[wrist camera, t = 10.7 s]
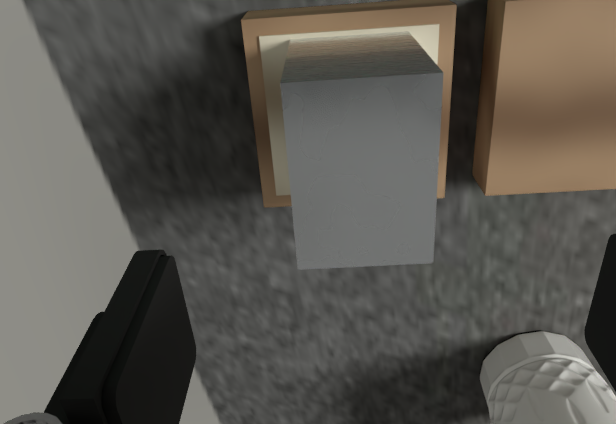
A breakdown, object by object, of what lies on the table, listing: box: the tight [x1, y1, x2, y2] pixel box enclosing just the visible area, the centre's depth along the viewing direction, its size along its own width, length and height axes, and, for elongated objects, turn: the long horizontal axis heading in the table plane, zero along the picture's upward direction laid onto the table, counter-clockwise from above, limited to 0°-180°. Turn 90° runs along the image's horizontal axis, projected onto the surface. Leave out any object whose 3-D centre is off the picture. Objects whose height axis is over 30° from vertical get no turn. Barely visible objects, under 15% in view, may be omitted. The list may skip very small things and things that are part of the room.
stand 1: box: [241, 0, 457, 207], centre depth 25 cm, size 9×9×3 cm
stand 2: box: [472, 0, 616, 196], centre depth 25 cm, size 9×9×2 cm
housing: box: [280, 31, 444, 270], centre depth 21 cm, size 7×5×7 cm
